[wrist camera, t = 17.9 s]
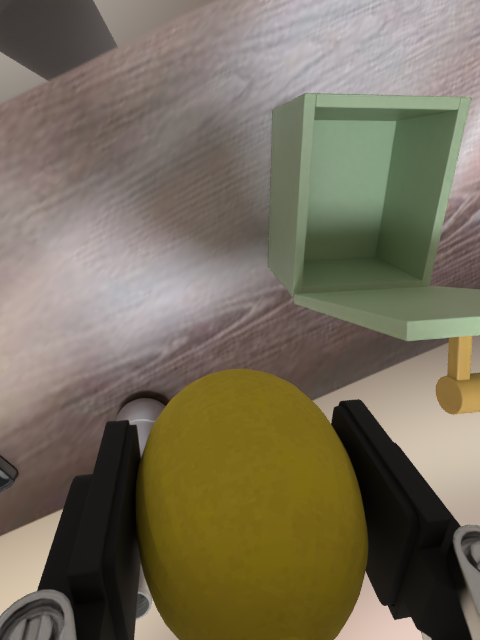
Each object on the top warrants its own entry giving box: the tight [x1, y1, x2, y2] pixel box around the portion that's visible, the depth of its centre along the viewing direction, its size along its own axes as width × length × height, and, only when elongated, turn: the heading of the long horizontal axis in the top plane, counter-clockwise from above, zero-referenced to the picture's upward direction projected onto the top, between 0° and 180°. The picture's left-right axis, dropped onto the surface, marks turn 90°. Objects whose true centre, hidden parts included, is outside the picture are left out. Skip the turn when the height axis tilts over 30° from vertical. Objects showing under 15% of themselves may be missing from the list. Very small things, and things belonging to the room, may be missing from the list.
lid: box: [294, 286, 480, 415], centre depth 23 cm, size 15×12×5 cm
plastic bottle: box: [115, 398, 166, 619], centre depth 33 cm, size 6×7×20 cm
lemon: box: [136, 369, 368, 640], centre depth 9 cm, size 6×6×8 cm
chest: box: [268, 93, 471, 297], centre depth 31 cm, size 14×12×9 cm
